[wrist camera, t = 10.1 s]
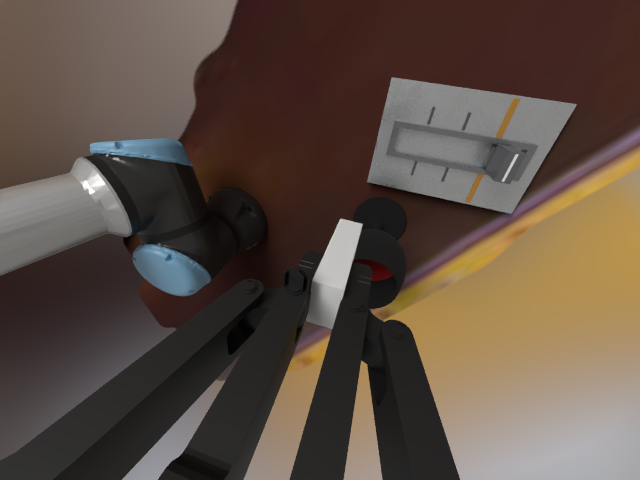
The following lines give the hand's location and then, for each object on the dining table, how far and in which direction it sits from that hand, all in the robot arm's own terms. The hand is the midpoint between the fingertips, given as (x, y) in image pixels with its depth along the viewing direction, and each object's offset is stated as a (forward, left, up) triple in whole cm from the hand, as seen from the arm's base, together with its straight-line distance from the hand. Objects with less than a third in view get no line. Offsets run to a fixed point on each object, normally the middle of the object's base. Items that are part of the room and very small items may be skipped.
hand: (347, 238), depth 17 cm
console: (+11, +2, -33) cm, 34 cm away
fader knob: (+17, +2, -30) cm, 35 cm away
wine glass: (+3, -14, -33) cm, 36 cm away
